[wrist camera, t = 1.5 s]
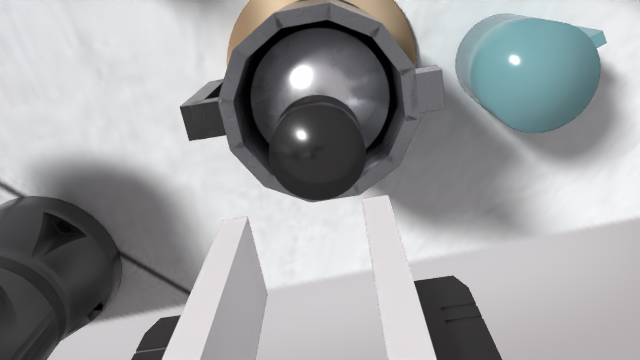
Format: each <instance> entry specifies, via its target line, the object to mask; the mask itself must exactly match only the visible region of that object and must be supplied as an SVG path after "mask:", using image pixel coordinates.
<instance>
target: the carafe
mask: <svg viewBox="0 0 640 360" xmlns="http://www.w3.org/2000/svg"><path fill="white" fill-rule="evenodd" d="M309 28H331V29H336V30H340V31H343V32H346V33H348V34H350V35H352V36H354V37H355V38H357V39H359V40H360V41H361V42H363V43H364V44H365V45H366V46H367V47H368V48H369V49H370V50H371V51H372V52H373V53H374V55H375V56H376V58H377V59H378V61H379V62H380V64H381V66H382V68H383V70H384V72H385V75H386V78H387V82H388V87H389V108H388V113H387V117H386V120H385V122H384V125H383V127H382V129H381V131H380V132H379V134H378V135H377V137H376V138H375V140H374V141H373V142H372V143H371V144H370V145H369V146H368V147H367V148H366V161H365V166H364V169H363V172H362V174H361V176H360V177H359V179H358V180H357V182H356V183H355V184H354V185H353V186H352V187H351V188H350V189H349V190H348V191H346V192H345V193H343V194H341V195H339V196H337V197H334V198H331V199H337V198H343V197H350V196H356V195H359V194H362V193H363V192H364V191H366V190H367V189H368V188H370V187H371V186H372V185H374V184H375V183H376V182H378V181H379V180H380V179H382V178H383V177H385V176H386V175H387V174H389V173H390V172H391V171H393V170H394V169H395V168H397V167H398V166H399V165H400V163H401V161H402V159H403V156H404V154H405V152H406V150H407V148H408V145H409V143H410V141H411V139H412V137H413V134H414V132H415V130H416V128H417V126H418V123H419V121H420V113H421V112H427V111H433V110H439V109H445V102H444V89H443V77H442V69H441V68H439V67H438V66H437V65H435V66H429V67H423V68H417V69H415V66H414V65H413V63H412V62H411V61H410V59H409V58H408V57H407V55H406V54H405V53H404V51H403V50H402V49H401V47H400V46H399V45H398V43H397V42H396V41H395V40H394V38H393V37H392V36H391V34H390V33H389V32H388V30H387V29H386V28H385V26H384V25H383V24H382V23H381V22H380V21H378V20H377V19H376V18H374V17H373V16H371V15H370V14H369V13H367V12H366V11H364V10H362V9H360V8H359V7H357V6H356V5H354V4H351V3H349V2H347V1H344V0H299V1H296V2H294V3H290V4H288V5H286V6H284V7H283V8H281V9H279V10H277V11H276V12H274V13H273V14H271V15H270V16H269V17H268V18H267V19H266V20H265V21H264V22H263V23H262V24H260V25H259V26H258V27H257V28H256V29H255V30H254V31H253V32H252V33H251V34H249V35H248V36H247V37H246V38H245V39H244V40H243V41H242V42H241V43H240V44H238V45H237V46H236V47H235V48H234V49H233V50H232V53H231V57H230V60H229V64H228V67H227V70H226V74H225V77H224V79H221V80H216V81H211V82H209V83H207V84H206V85H205V86H204V87H203V88H201V89H200V90H199V91H198V92H197V93H196V94H194V95H193V96H192V97H191V98H190V99H188V100H187V101H186V102H185V103H184V104H183V105H181V106H180V110H181V113H182V117H183V120H184V124H185V127H186V131H187V134H188V138H189V141H192V140H198V139H199V140H200V139H206V138H212V137H218V136H224V135H226V136H227V140H228V144H229V148H230V150H231V152H232V153H233V154H234V155H235V156H236V157H237V158H238V159H239V160H240V161H241V162H242V164H243V165H244V166H245V167H246V168H247V169H248V170H249V171H250V172H251V173H252V174H253V175H254V176H255V177H256V178H257V179H258V180H259V181H260V183H261V184H262V185H263V186H265V187H267V188H270V189H273V190H276V191H279V192H282V193H284V194H287V195H290V196H293V197H296V198H299V199H302V200H305V201H308V202H318V201H324V200H308V199H304V198H301V197H298V196H296V195H294V194H292V193H290V192H289V191H288V190H286V189H285V188H284V187H283V186H282V185H281V184H280V183H279V182H278V181H277V179H276V178H275V176H274V174H273V172H272V170H271V166H270V163H269V145H270V144H269V143H268V142H267V140H266V139H265V138H264V137H263V135H262V133H261V132H260V130H259V128H258V126H257V124H256V122H255V119H254V116H253V112H252V106H251V88H252V82H253V78H254V75H255V72H256V70H257V68H258V66H259V64H260V62H261V60H262V59H263V58H264V56H265V55H266V54H267V52H268V51H269V50H270V49H271V48H272V47H273V46H274V45H275V44H276V43H278V42H279V41H280V40H281V39H283V38H285V37H286V36H288V35H290V34H292V33H295V32H297V31H300V30H304V29H309ZM327 200H330V199H327Z"/></svg>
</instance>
